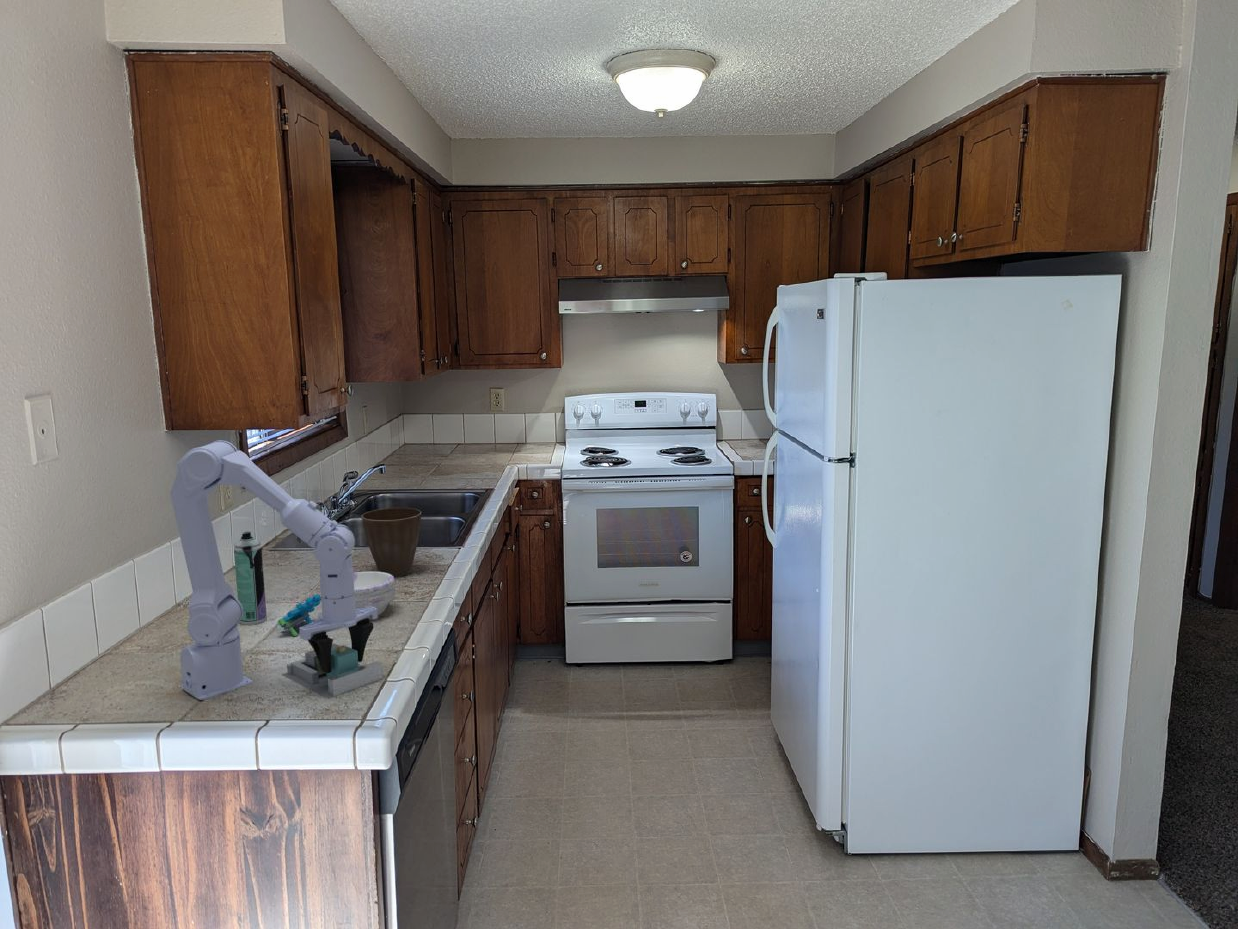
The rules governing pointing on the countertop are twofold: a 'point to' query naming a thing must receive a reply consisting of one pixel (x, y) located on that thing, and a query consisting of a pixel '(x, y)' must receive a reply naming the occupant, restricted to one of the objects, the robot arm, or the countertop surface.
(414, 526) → the plant pot
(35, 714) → the countertop surface
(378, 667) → the base
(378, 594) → the paper bowls
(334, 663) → the block
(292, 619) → the blue toy water gun
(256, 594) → the spray can
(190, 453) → the robot arm
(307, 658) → the block
